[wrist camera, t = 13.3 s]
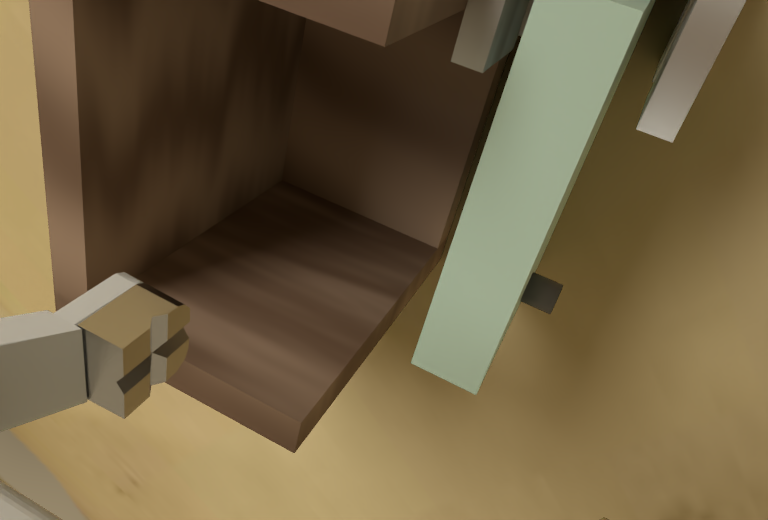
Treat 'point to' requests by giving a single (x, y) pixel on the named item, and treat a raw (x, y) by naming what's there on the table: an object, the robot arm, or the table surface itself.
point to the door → (526, 179)
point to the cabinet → (283, 168)
